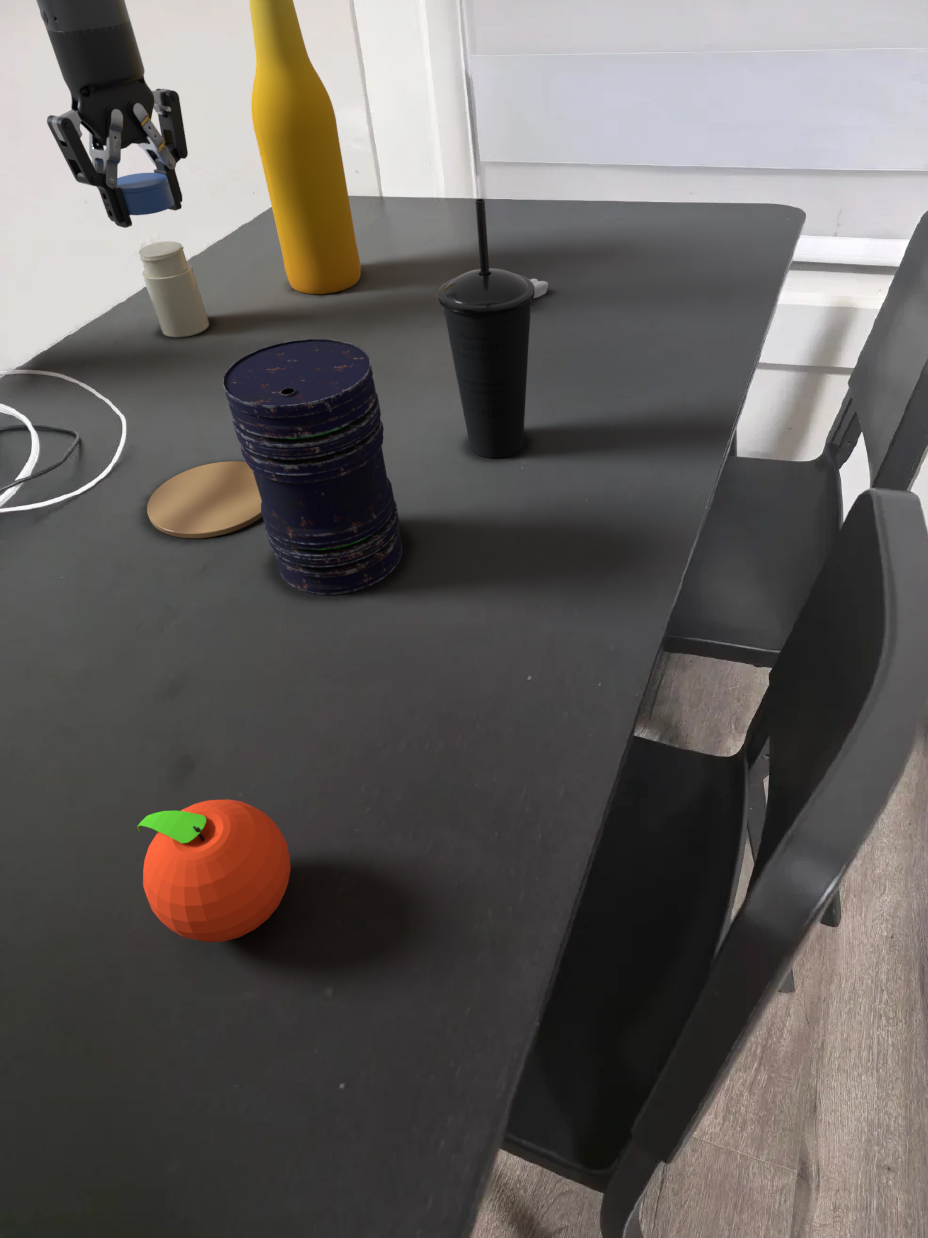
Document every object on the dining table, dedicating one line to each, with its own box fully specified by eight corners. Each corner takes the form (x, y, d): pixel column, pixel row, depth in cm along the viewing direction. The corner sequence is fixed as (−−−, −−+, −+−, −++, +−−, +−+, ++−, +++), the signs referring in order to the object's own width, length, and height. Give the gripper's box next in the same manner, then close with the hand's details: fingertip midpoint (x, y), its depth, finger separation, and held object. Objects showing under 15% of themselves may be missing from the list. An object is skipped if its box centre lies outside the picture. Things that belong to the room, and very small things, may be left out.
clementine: (126, 936, 43) (67, 860, 38) (205, 829, 48) (162, 748, 43) (257, 986, 41) (214, 913, 36) (328, 869, 46) (298, 789, 40)
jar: (158, 339, 96) (130, 259, 90) (165, 320, 100) (139, 242, 94) (206, 334, 97) (182, 254, 90) (211, 316, 100) (188, 237, 94)
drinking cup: (473, 475, 73) (449, 224, 58) (442, 435, 78) (414, 195, 63) (553, 453, 74) (549, 204, 60) (518, 416, 80) (506, 178, 65)
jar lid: (123, 200, 91) (115, 174, 90) (178, 196, 92) (170, 170, 90) (113, 217, 87) (104, 190, 85) (170, 212, 88) (162, 185, 86)
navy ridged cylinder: (292, 519, 69) (242, 340, 59) (410, 516, 69) (382, 335, 58) (263, 597, 62) (201, 409, 52) (395, 595, 62) (359, 405, 51)
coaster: (126, 536, 69) (124, 531, 68) (179, 464, 76) (177, 459, 76) (255, 540, 67) (253, 535, 67) (295, 467, 75) (294, 462, 75)
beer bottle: (375, 282, 105) (328, -16, 85) (307, 301, 102) (242, -4, 81) (342, 262, 111) (291, -22, 90) (277, 280, 108) (209, -12, 87)
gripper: (40, 35, 73) (113, 243, 85) (175, 9, 80) (224, 203, 92) (-7, 30, 76) (70, 231, 88) (127, 5, 84) (181, 193, 96)
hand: (149, 216), depth 90 cm, fingers closed on jar lid, 5 cm apart
